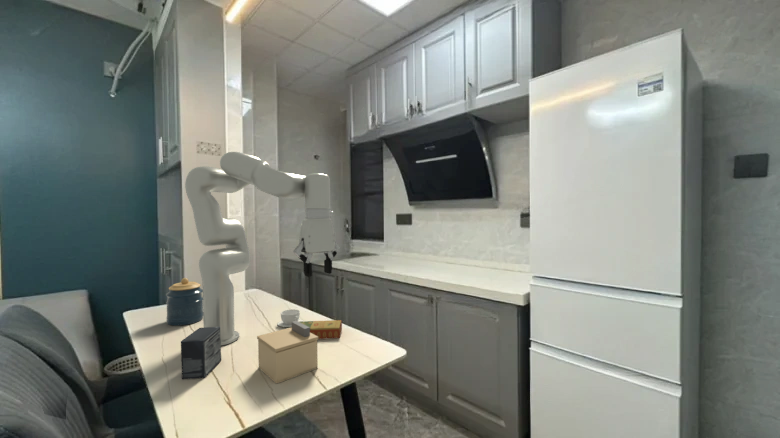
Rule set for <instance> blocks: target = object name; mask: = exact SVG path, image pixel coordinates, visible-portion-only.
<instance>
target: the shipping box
mask: <svg viewBox="0 0 780 438" xmlns="http://www.w3.org/2000/svg"><path fill="white" fill-rule="evenodd" d="M257 343H258V344H257V345H258V351H257V352H258V354H257V357H258V359H257V360H258V369H259V370H260V371H261V372H263V373H264V374H265V375H266V376H267V377H268V378H270V380H272V381H273V383H275V384H279V383H280V384H281V383H282V382H284V381H288V380H291V379H293V378H296V377H298V376H301V375H304V374H306V373H310V372H313V371H314V370H318V368H319V367H318V340H315V341H312V342H308V343H305V344H302V345H298V346H295V347H292V348H289V349H285V350H282V351H279V352H275V351H273V350H272V349H270V348H269V347H268V346H266V345H265V344H264V343H262V342H261V341H259V340H258V339H257Z"/></svg>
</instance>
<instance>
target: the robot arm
mask: <svg viewBox="0 0 780 438" xmlns="http://www.w3.org/2000/svg"><path fill="white" fill-rule="evenodd" d="M219 166H220V168H219V167H213V166H197V167H194V168H192V169H191V170H190V171H189V172H188V174H187V176H186V178H185V182H184V188H185V193H186V196H187V199H188V201H189V204H190V205H191V209H192V213H193V219H194V223H195V229H196V232H197V236H198V240H199V243H201V245H203V246H205V247H215V246H216V247H217V246H225V247H224V248H223V247H222V248H216V249H211V250H208V251H205V252H204V253H203V254H202V255H201V256H200V258H199V260H198V269H199V273H200V276H201V282H202V283H201V284H202V285H201V286H202V289H203V292H202V297H203V319H202V321H203V322H202V323H203V328H205V327H220V339H221V346H225V345H229V344H231V343H233V342H235V341H237V340H238V339H239V338H240V332H239V331H236V330H235V289H234V288H235V287H234V285H233V282H232V280H231V279H230V277H229V276H230V275H233V274H238V273H242V272H244V271H246V270H247V269H248V268H249V266H250V264H251V253H250V247H249V244H248V240H247V235H246V230H245V227H244V225H243V224H242V222H240V221H239V220H237V219H235V218H226V217H225V218H224V217H223V214H222V211H221V206H220V204H219V201H218V200H217V199H216V197H214V196H213V194H212V193H224V194H225V193H226V194H232V193H237V192H239V191H241V190H243V188H245V187H247V186H248V185H250V184H251V185H253V186H254V187H255V188H256V189H258V190H259V191H261V192H263V193H266V194H268V195H271V196H274V197H275V198H276V197H277V198H280V199H294V200H304V219H302V220H301V224H300V230H299V241H298V244H297V246H296V247H294V249H293V253H294V255H296V256H297V257H298V259H299V260H301V262H302V263H303V273H304V276H306V277H309V278H310V277H312V276H313V271H312V270H313V267H312V265H313V264H312V262H311V260H312V257H313V254H321V253H323V256H324V257H325V259H323V260H324V261H323V264H324V265H323V266H324V267H323V269H324V270H323V272H324V273H325V274H328V275H329V274H332V273H333V272H332V271H333V261H334V259H335V257H336V256H337V254H338V252H339V251H340V249H341V246H340V245H339V244H338V243H337V241H336V237H335V229H334V223H333V220H332V219H331V217H332V216H334V211H333V210H332V211H331V180H330V176H329V175H328V174H324V173H308V174H307V175H301V174H295V173H291V172H290V173H289V172H284V171H281V170H278V169H275V168H272V167H271V165H270V164H269V163H268V162H267V161H265V160H262V159H260V158H259V157H257V156H255V155H253V154H248V153H243V152H240V151H239V152H238V151H229V152H226V153H224V154H223V155H222V156H221V158H220V160H219Z"/></svg>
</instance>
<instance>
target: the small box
mask: <svg viewBox="0 0 780 438" xmlns="http://www.w3.org/2000/svg"><path fill="white" fill-rule="evenodd" d="M221 346H222V345H221V339H220V327H205V328H204V327H198V328H197V329H196V330H195V331H193V332H191V333H190V334H189V335H187V336H186V337H184V338H183V339H182V340H180V355H181V356H180V357H181V360H180V361H181V363H180V364H181V379H182V380H188V379H189V380H195V379H196V380H197V379H205V378H207V376H209V375H210V374H211V372H212V371H214V369H215V368H216V367H217V366H218V365H219V364H220V363H221V361H222V347H221Z"/></svg>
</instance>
